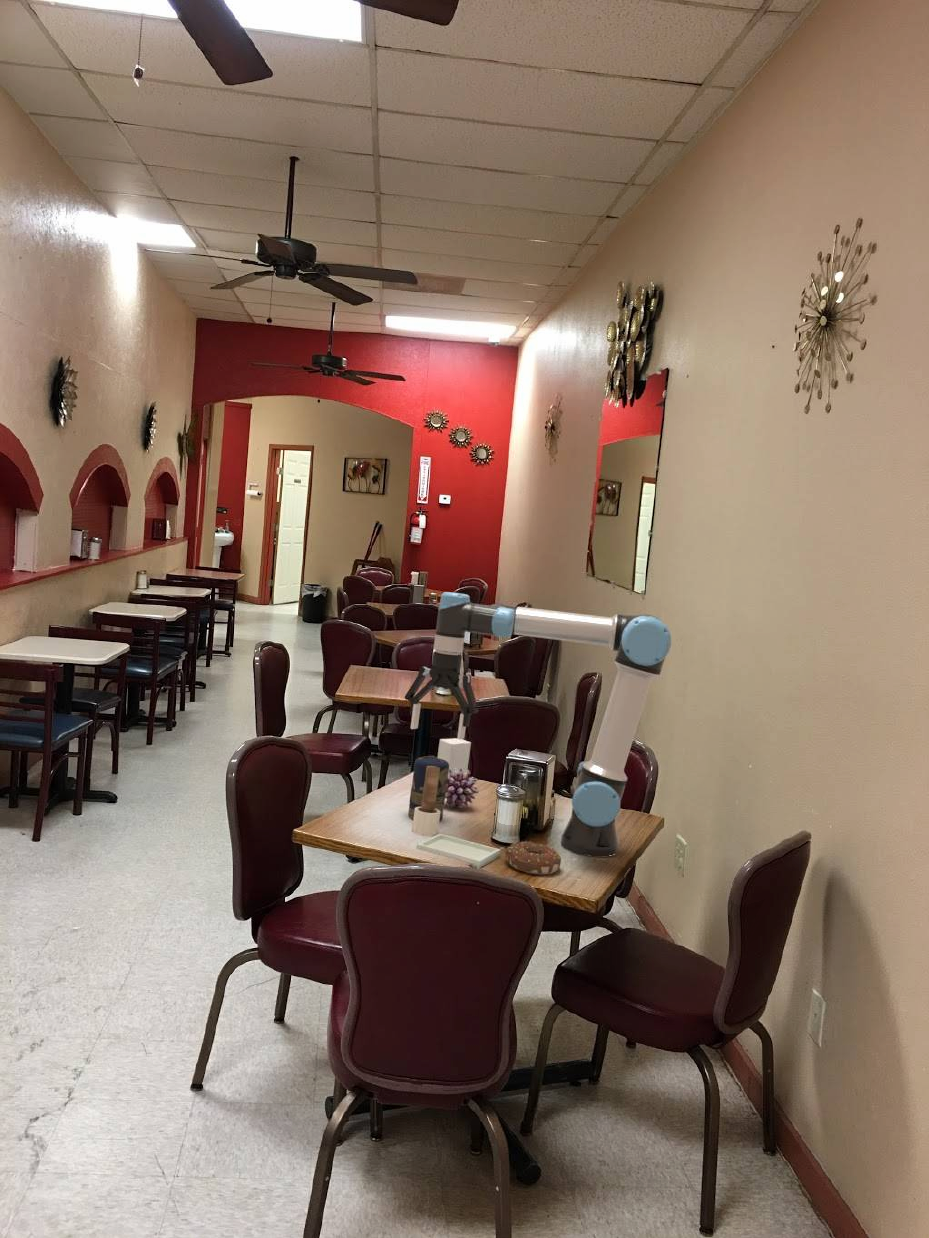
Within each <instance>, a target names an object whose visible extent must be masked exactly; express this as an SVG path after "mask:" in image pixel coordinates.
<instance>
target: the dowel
mask: <svg viewBox="0 0 929 1238" xmlns="http://www.w3.org/2000/svg"><path fill="white" fill-rule="evenodd" d="M439 772H440V768H439V767H436V766H427V768H426V775H425V783H424V790H423V798H422V805H421V812H425V813H434V810H435V802H436V795H437V787H438V780H439Z"/></svg>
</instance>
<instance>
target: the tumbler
mask: <svg viewBox="0 0 929 1238" xmlns="http://www.w3.org/2000/svg"><path fill="white" fill-rule="evenodd" d="M439 819H440V810H438V809H435V810H434V813H425V812H421V807H416V808H415V811H414V818H413V819H412V820H413V821H412V826H411V832H412V833H414V834H416V835H419V836H426V837H434V836H436V835H438V834H439V825H440V822H439Z"/></svg>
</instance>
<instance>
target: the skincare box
mask: <svg viewBox="0 0 929 1238" xmlns="http://www.w3.org/2000/svg"><path fill="white" fill-rule="evenodd" d="M471 746H472V742H471V741H467V740H465V739H457V738H455V737H454V738H440V739H439V744H438V750H437V751H438V752H437V758H439V759H443V760H446V761H447V762H448V763H449V769H451V771H452V772H454V768H457V770H458V771H459V769H460V768H462V772H463V773H464V772H467V770H469V768H468V767H469V760H470V753H471ZM449 774H450V772H448V775H449Z"/></svg>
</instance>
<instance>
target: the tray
mask: <svg viewBox="0 0 929 1238" xmlns="http://www.w3.org/2000/svg"><path fill="white" fill-rule="evenodd" d="M415 849H417V850H420V851H425V852H429V853H432V854H436V855H438V856H439V855H440V856H443V857H446V858H450V859H455V860H457V861H461V862H466V863H469V864H468V867H471V866H472V868H475V867H477V868H476V869H481V868H482V866H483V867H484V866H486V865H487V864H489V863H491V862H494V861H495V860H496V859H498V858H500V856H501V850H502V849H501V848H496V847H492V846H488V845H485V844H481V843H477V842H473V841H469V840H466V839H462V838H459V837H454V836H450V835H447V834H443V833H438V834H437V835H434V836H430V837H429V838H427V839H425V840H423V841H420V842H418V843H417V844H416V848H415Z"/></svg>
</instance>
